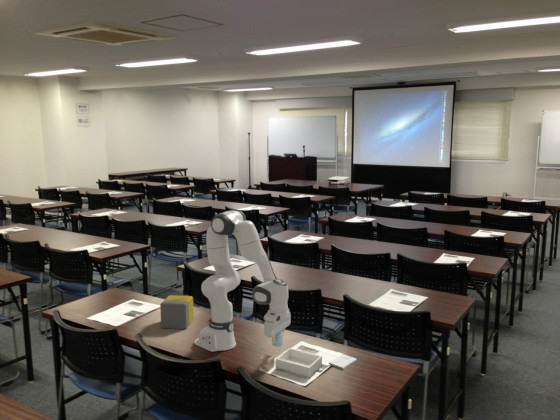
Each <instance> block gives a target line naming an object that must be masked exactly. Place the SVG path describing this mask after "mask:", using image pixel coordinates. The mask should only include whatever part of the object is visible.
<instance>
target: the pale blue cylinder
mask: <svg viewBox="0 0 560 420" xmlns="http://www.w3.org/2000/svg"><path fill="white" fill-rule="evenodd" d="M275 337H276V338H277V341H276V342H272V341H271V342H272V343H271V344H272V346H273V347H275V348H276V347H277V348H279V347H282V346H283V340H284V339H283V337H284V333H283V330H281V331H280V332H278V333H277V334H276V336H275Z"/></svg>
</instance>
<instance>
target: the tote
mask: <svg viewBox="0 0 560 420" xmlns="http://www.w3.org/2000/svg"><path fill="white" fill-rule="evenodd" d="M322 366H323V356H322V355H319V354H315V353H311V352H307V351H304V350H299V349H295V348H291V347H289V348H287V350H285V351H284V352H282V353H281V354H280V355H279V356H277V357H276V358H275V370H278V371H281V372H285V373H289V374H292V375H297V376H298V377H302V376H303V378H306V377H308V378H307V379H310V378H311V377H312V376H314V374H316V372H317V371H319V370H320V369H321V368H322ZM309 377H310V378H309Z"/></svg>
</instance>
